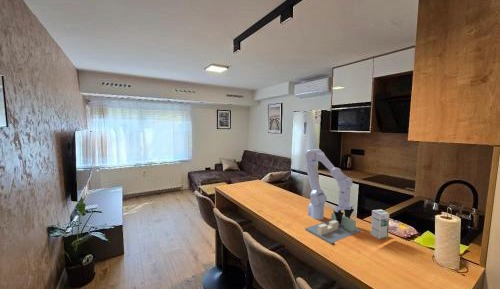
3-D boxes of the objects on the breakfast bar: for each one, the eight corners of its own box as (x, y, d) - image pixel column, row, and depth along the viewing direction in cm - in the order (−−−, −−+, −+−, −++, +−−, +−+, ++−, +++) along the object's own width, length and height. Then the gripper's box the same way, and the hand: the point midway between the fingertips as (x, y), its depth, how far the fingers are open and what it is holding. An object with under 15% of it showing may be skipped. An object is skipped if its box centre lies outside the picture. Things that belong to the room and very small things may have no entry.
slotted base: (305, 229, 128) (305, 220, 127) (335, 220, 142) (335, 211, 141) (331, 244, 113) (332, 234, 112) (362, 232, 127) (363, 222, 126)
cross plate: (330, 222, 136) (331, 213, 136) (334, 220, 138) (334, 212, 138) (352, 231, 125) (352, 222, 124) (355, 230, 126) (356, 220, 126)
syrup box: (378, 241, 117) (381, 214, 116) (370, 235, 123) (372, 209, 122) (387, 239, 119) (390, 213, 117) (378, 234, 124) (380, 208, 123)
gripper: (342, 203, 123) (341, 227, 124) (358, 198, 130) (356, 221, 132) (331, 199, 129) (330, 222, 130) (347, 195, 136) (346, 217, 138)
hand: (343, 221), depth 131 cm, fingers open, 7 cm apart
